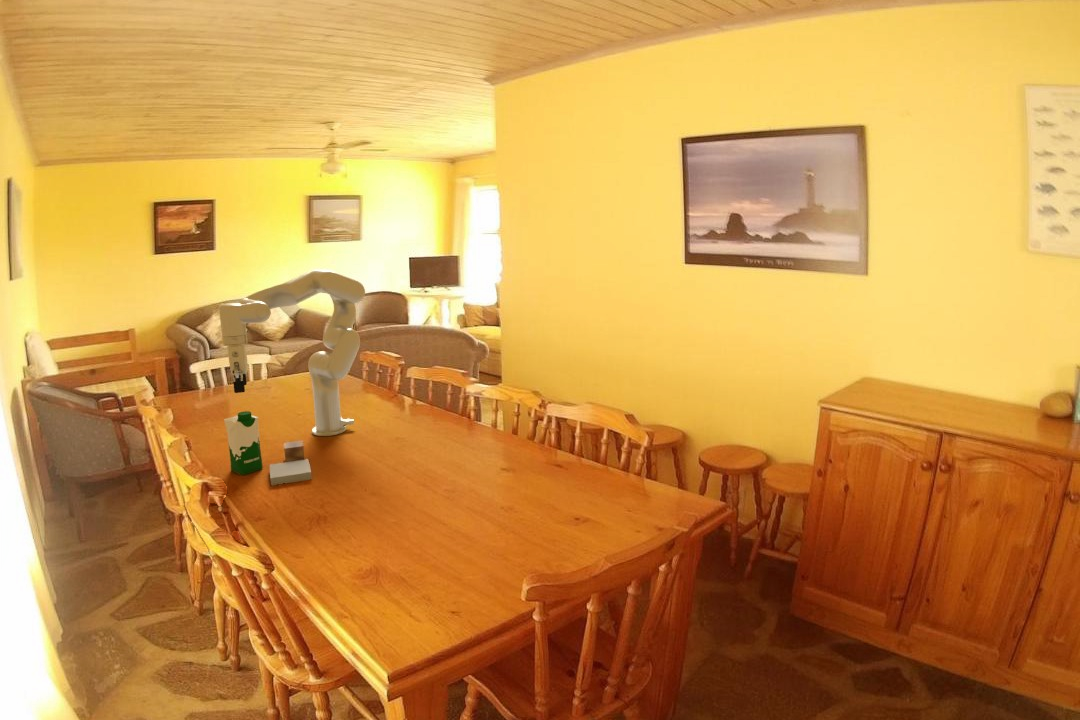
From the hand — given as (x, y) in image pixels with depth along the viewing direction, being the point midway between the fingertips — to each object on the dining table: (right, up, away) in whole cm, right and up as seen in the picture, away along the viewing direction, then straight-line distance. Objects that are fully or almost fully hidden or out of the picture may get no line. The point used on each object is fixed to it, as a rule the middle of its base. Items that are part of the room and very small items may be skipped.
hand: (240, 388), depth 218 cm
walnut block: (+19, -25, 0) cm, 31 cm away
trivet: (+22, -28, -13) cm, 37 cm away
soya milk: (+6, -27, -8) cm, 28 cm away
